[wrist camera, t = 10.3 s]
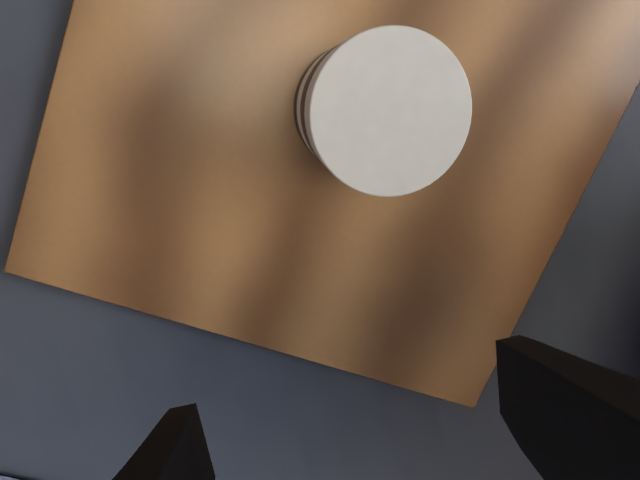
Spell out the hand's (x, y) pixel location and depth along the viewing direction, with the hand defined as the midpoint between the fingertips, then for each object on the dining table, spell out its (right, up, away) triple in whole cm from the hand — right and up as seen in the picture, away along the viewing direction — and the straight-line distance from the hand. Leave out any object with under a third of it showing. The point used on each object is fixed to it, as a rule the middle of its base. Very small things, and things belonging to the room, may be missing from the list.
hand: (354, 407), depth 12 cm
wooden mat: (0, +9, +7) cm, 11 cm away
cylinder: (0, +9, +7) cm, 11 cm away
